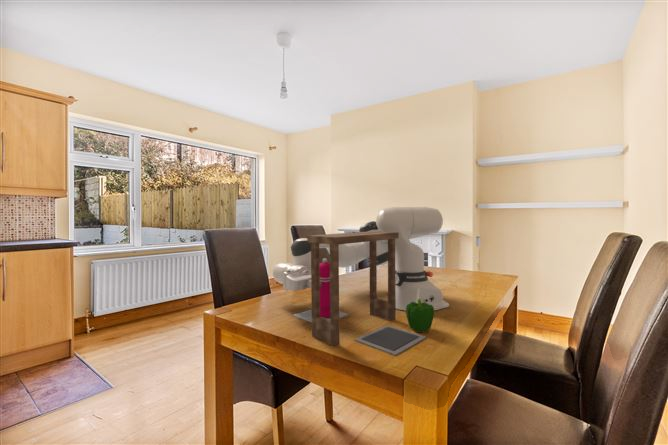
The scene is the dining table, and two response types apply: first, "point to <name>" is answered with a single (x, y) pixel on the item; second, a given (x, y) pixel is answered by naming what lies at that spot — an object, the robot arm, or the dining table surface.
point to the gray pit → (390, 339)
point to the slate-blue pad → (308, 315)
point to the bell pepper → (419, 316)
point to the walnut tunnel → (378, 307)
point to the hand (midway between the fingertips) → (326, 283)
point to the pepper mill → (325, 288)
